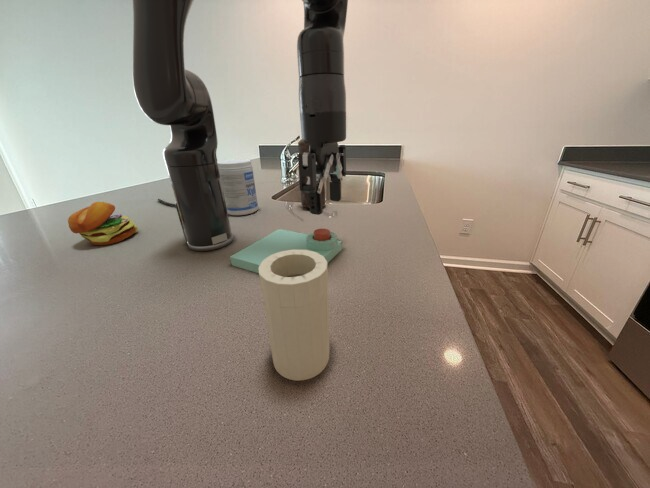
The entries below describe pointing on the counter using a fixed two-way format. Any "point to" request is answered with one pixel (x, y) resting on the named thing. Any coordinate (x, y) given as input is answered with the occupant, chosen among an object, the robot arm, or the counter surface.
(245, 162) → the supplement tub
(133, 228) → the cheeseburger
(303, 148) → the candle
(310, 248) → the scale
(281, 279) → the jar
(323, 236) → the tare button
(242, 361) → the counter surface
